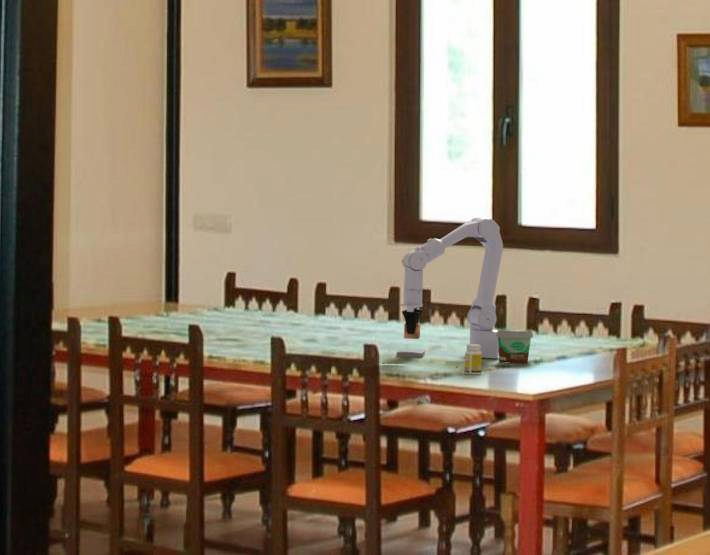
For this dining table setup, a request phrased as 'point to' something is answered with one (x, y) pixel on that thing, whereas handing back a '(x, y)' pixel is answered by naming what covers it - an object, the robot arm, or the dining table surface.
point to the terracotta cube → (412, 336)
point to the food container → (514, 346)
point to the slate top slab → (410, 353)
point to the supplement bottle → (473, 359)
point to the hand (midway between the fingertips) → (411, 333)
